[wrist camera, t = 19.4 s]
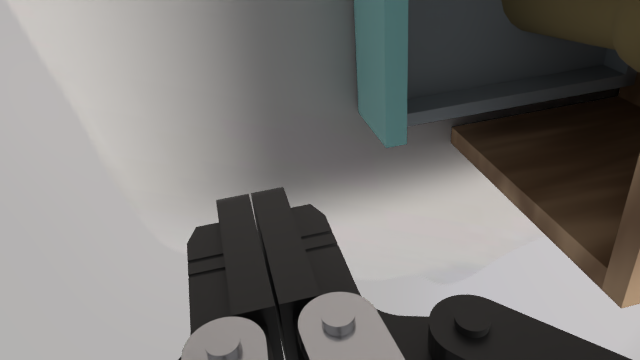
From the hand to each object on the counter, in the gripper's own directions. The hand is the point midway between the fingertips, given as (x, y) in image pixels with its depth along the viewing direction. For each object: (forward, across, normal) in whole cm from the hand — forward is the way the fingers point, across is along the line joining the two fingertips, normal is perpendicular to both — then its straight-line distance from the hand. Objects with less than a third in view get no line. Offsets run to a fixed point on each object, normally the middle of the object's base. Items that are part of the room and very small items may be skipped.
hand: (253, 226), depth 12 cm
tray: (+19, -17, +1) cm, 25 cm away
